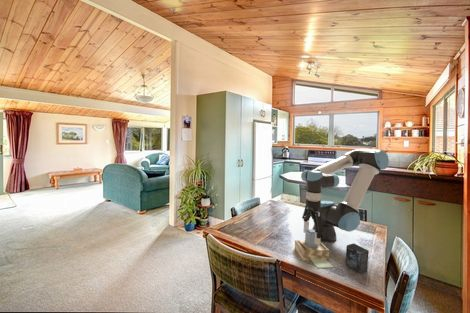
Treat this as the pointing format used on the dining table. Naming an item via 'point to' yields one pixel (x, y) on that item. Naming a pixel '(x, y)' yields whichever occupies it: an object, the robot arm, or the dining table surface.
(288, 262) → the dining table surface
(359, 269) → the box
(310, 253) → the socket block
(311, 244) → the plug
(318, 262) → the felt pad
